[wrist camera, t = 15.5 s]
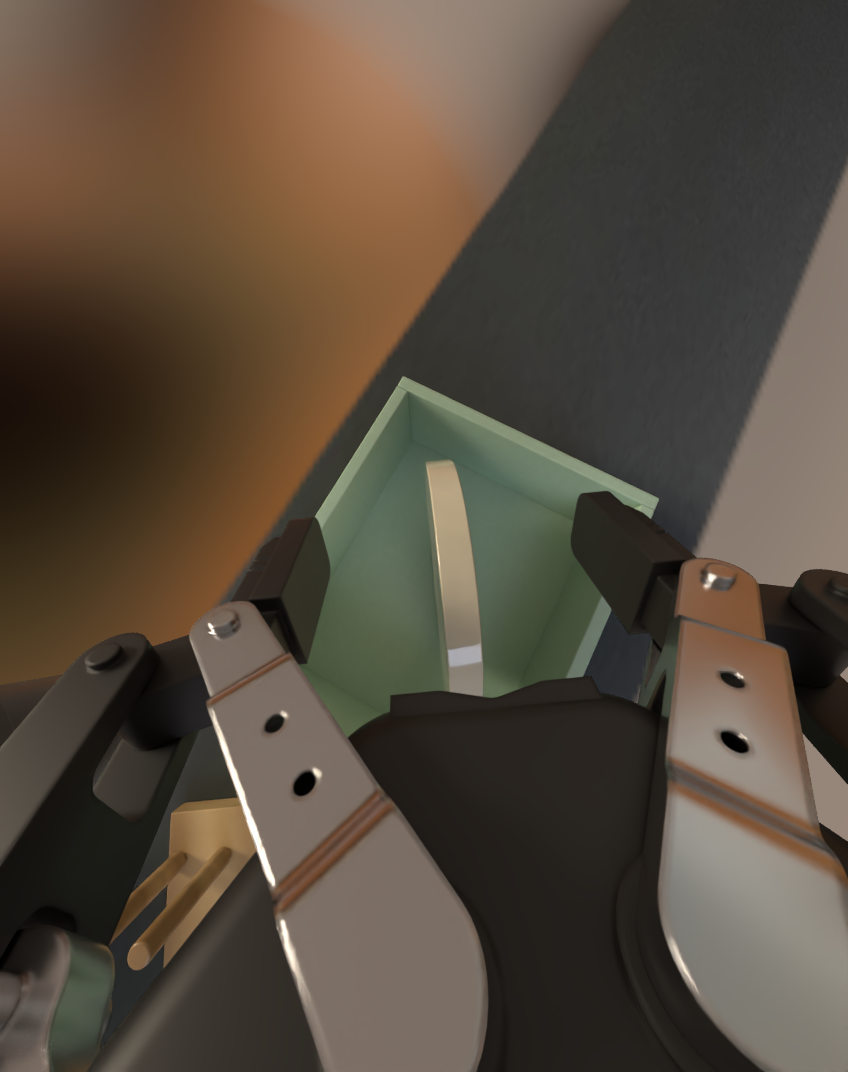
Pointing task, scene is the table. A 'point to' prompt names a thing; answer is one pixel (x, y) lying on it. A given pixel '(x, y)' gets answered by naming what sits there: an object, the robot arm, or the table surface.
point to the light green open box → (498, 547)
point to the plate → (454, 580)
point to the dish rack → (189, 875)
